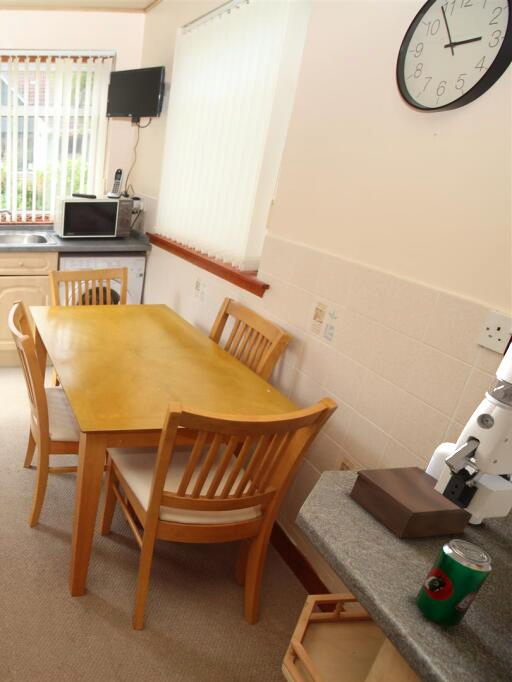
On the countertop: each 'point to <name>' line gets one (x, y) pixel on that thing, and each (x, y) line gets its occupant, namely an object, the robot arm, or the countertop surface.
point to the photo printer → (439, 465)
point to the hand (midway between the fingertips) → (470, 500)
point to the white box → (484, 494)
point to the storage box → (408, 502)
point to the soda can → (453, 582)
